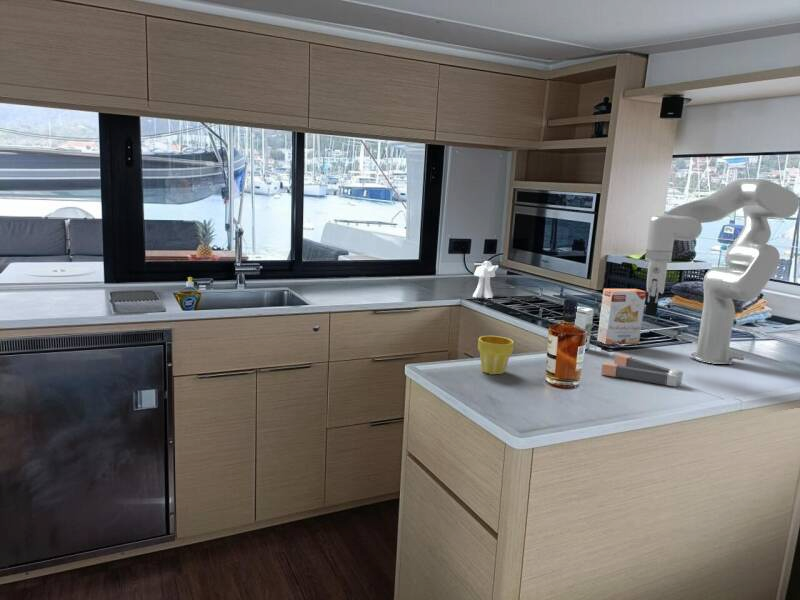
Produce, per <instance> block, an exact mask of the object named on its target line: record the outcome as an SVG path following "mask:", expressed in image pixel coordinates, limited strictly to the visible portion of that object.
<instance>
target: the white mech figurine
mask: <svg viewBox="0 0 800 600" xmlns="http://www.w3.org/2000/svg"><path fill="white" fill-rule="evenodd" d="M478 265H479V266H478ZM473 266H476V268H475V270H474V273H473V276H475V277H478V283H477V287H476V288H475V290H474V292H473V294H472V298H474V297H475V299H476V298H477V297H479V298H484V297H485V298H484V299H488V298H492V299H493V297H494V293H493V290H492V287H491V278H495V277H496V273H495V272H496V271H497V269H498V268H500V267H499V265H498V264H496V265H493V264H492V262H491V261H490V260H485V261H483V263H482V262H479V263H478V262H477V263H476V262H474V263H473ZM477 299H478V298H477Z"/></svg>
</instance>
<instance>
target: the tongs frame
mask: <svg viewBox="0 0 800 600" xmlns="http://www.w3.org/2000/svg"><path fill="white" fill-rule="evenodd" d="M600 372H601V373H600V375H603V376H608V377H613V378H623V379H628V380H634V381H641V382H645V383H651V384H652V383H653V384H657V385H664V386H670V387H676V386H680V385H681V386H682V380H683V374H684V372H683V371H682V370H678V369H671V370H669V373H663V372H657V371H651V370H644V369H638V368H632V367H625V366H619V365H617V364H615V363H613V362H607V361H606V362H605V361H603V362H602V365H601V371H600ZM681 386H680V387H681ZM676 388H677V387H676Z"/></svg>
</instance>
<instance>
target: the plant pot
mask: <svg viewBox="0 0 800 600" xmlns="http://www.w3.org/2000/svg"><path fill="white" fill-rule="evenodd" d="M477 342H478V343H477V349H478V351H479V355H480V356H479V357H480V365H481V366H480V367H481V371H482V372H483V373H484V372H485V374H487V373H489V374H488V375H492V374H501V375H503V374H504V373H505V371H506V368H507V365H508V362H509V359H510V355H512V354H513V351H514V340H512V339H511V338H509V337H504V336H499V335H481V336H479V337H478V341H477ZM502 373H503V374H502Z"/></svg>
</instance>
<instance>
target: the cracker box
mask: <svg viewBox="0 0 800 600" xmlns="http://www.w3.org/2000/svg"><path fill="white" fill-rule="evenodd" d="M646 297H647V291H646V290H641V289H637V288H603V290H602V299H601V308H600V315H599V324H598V330H597V339H596V342H597V341H600V342H602V343H604V344H612V343H619V344H639V345H640V339H641V330H642V323H643V318H644V310H645V306H646V304H645V303H646Z"/></svg>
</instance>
